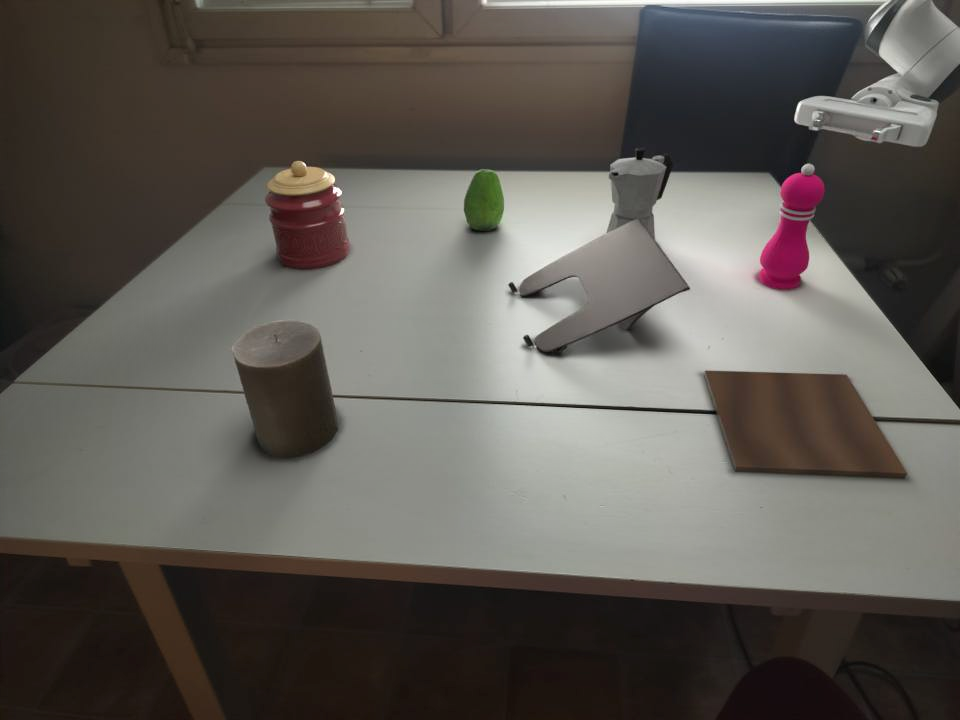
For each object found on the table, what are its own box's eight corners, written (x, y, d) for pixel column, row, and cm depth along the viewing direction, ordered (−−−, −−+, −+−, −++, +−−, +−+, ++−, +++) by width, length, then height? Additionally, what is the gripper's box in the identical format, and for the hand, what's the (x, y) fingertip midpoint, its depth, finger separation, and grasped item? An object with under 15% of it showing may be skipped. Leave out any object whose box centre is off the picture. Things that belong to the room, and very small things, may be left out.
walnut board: (843, 383, 87) (846, 374, 86) (902, 483, 73) (907, 473, 72) (703, 379, 89) (704, 370, 88) (733, 476, 74) (736, 466, 73)
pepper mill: (802, 297, 106) (838, 174, 94) (754, 291, 108) (783, 170, 96) (800, 276, 111) (834, 158, 100) (754, 271, 113) (782, 154, 102)
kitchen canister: (300, 238, 128) (282, 147, 118) (362, 245, 125) (349, 151, 115) (265, 269, 118) (242, 171, 108) (331, 277, 115) (314, 177, 105)
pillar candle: (346, 449, 79) (326, 345, 71) (262, 471, 77) (231, 365, 68) (331, 402, 87) (312, 302, 78) (254, 420, 84) (225, 319, 75)
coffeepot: (622, 266, 116) (633, 164, 105) (584, 247, 122) (591, 149, 112) (681, 242, 123) (697, 144, 113) (643, 225, 129) (654, 132, 119)
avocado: (511, 233, 128) (511, 172, 121) (473, 241, 126) (471, 179, 119) (494, 218, 134) (493, 159, 127) (458, 225, 132) (455, 165, 125)
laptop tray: (528, 314, 115) (504, 273, 109) (652, 252, 110) (634, 206, 105) (554, 397, 96) (526, 352, 91) (705, 326, 91) (685, 274, 86)
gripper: (818, 82, 116) (784, 98, 108) (950, 102, 104) (922, 122, 96) (809, 119, 119) (774, 137, 112) (935, 143, 108) (907, 165, 100)
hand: (844, 130), depth 104 cm, fingers open, 8 cm apart
